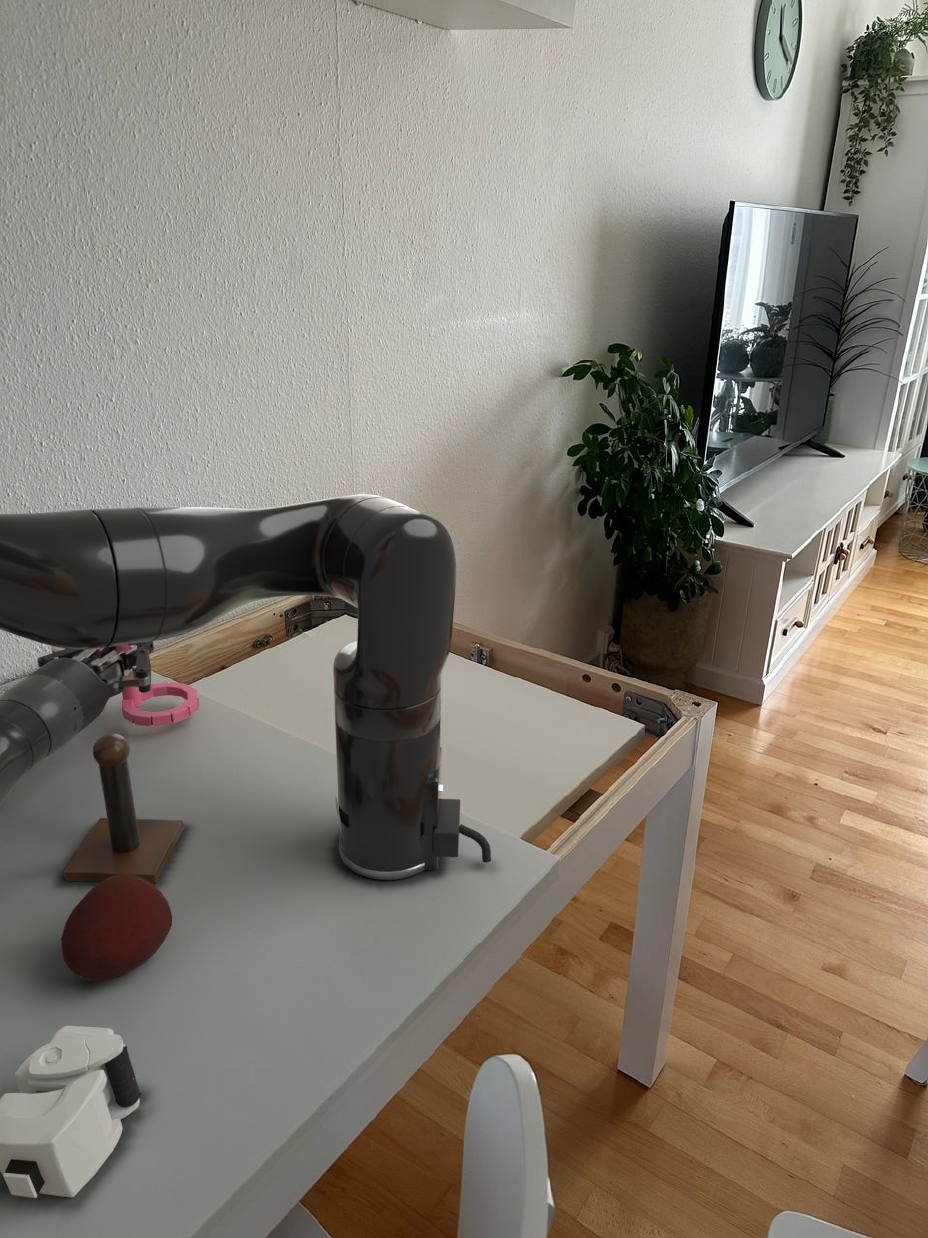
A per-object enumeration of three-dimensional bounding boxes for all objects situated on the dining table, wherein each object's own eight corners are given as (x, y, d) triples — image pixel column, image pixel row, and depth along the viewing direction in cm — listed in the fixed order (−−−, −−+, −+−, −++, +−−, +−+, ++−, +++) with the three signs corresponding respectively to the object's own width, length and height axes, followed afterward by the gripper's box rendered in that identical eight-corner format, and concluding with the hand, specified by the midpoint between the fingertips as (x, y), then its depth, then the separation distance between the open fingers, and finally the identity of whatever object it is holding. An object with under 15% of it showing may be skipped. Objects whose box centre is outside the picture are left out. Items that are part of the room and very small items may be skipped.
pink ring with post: (211, 695, 107) (202, 608, 102) (177, 730, 99) (165, 638, 95) (144, 687, 108) (132, 601, 104) (105, 721, 101) (90, 630, 96)
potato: (63, 992, 69) (22, 921, 67) (147, 917, 75) (112, 850, 73) (118, 1012, 65) (76, 937, 62) (203, 931, 71) (168, 860, 69)
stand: (184, 828, 86) (170, 714, 81) (155, 884, 78) (138, 762, 74) (101, 826, 86) (82, 711, 81) (65, 881, 79) (41, 759, 74)
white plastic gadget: (158, 1067, 61) (90, 1222, 52) (65, 1060, 61) (-18, 1213, 52) (141, 1007, 58) (66, 1160, 49) (44, 1001, 59) (-47, 1151, 50)
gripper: (104, 683, 86) (190, 615, 102) (-22, 669, 88) (80, 604, 104) (115, 751, 89) (197, 674, 105) (-8, 734, 91) (90, 662, 107)
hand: (138, 639), depth 104 cm, fingers closed on pink ring with post
